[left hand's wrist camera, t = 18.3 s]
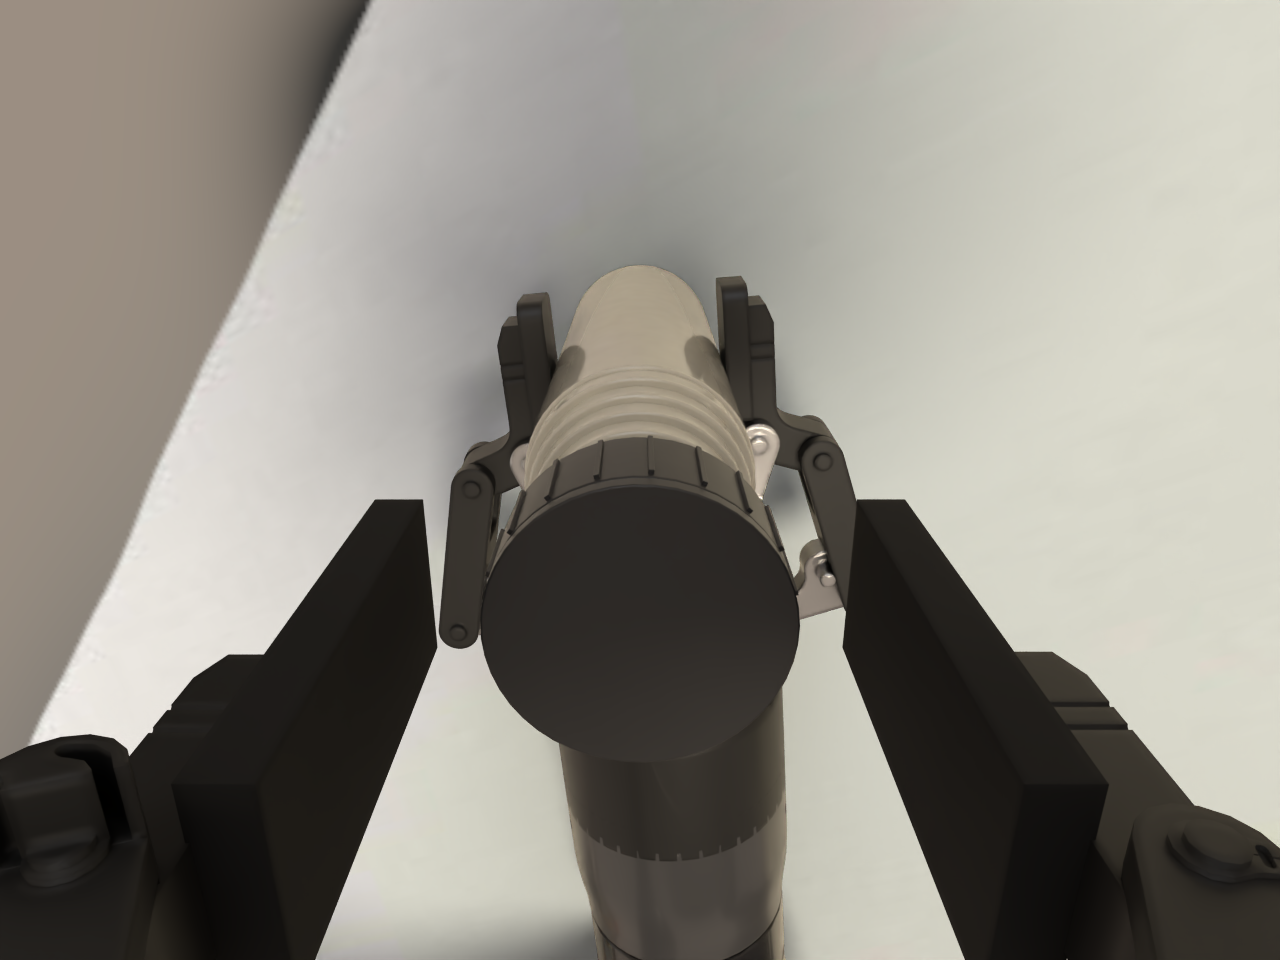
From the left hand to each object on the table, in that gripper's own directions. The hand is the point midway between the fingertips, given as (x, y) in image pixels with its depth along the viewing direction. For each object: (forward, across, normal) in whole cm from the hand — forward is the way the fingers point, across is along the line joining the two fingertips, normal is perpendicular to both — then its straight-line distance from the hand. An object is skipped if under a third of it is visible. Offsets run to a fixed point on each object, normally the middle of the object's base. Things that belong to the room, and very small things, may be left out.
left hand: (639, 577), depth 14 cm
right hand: (+12, 0, -3) cm, 12 cm away
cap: (-1, 0, 0) cm, 1 cm away
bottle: (+19, 0, 0) cm, 19 cm away
